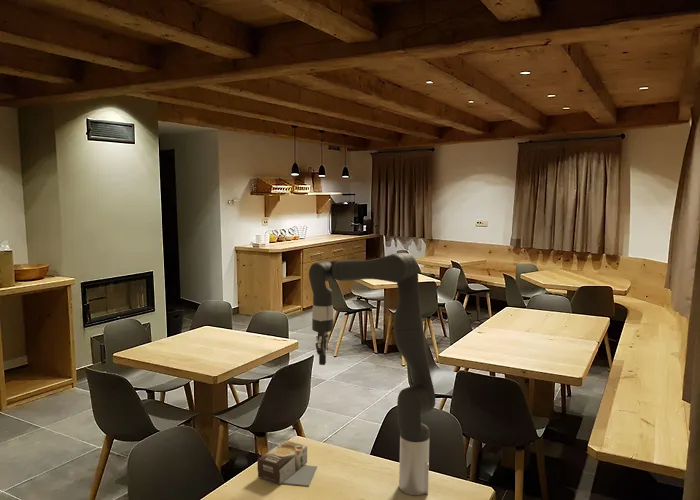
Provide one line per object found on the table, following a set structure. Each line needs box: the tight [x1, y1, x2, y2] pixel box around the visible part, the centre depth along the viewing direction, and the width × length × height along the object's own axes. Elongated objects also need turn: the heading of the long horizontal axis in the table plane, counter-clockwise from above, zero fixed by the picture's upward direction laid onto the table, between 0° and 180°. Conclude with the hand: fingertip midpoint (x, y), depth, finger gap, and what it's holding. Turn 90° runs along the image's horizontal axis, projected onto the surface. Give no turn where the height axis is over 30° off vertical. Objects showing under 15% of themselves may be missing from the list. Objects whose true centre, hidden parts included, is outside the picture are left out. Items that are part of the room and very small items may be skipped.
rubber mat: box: [266, 464, 318, 487], centre depth 174 cm, size 14×12×1 cm
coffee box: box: [257, 439, 308, 485], centre depth 175 cm, size 9×6×16 cm
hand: (322, 364), depth 188 cm, fingers closed
